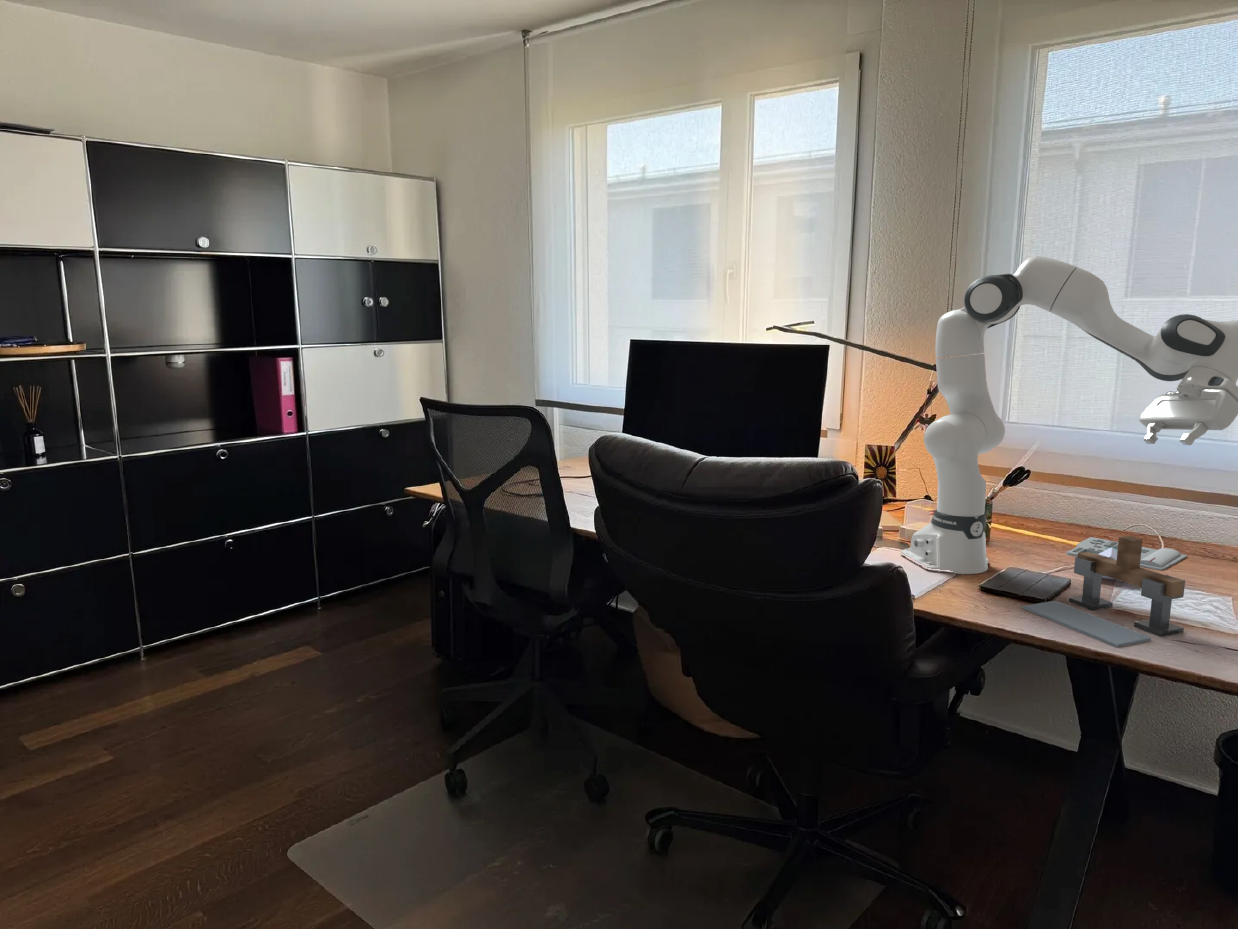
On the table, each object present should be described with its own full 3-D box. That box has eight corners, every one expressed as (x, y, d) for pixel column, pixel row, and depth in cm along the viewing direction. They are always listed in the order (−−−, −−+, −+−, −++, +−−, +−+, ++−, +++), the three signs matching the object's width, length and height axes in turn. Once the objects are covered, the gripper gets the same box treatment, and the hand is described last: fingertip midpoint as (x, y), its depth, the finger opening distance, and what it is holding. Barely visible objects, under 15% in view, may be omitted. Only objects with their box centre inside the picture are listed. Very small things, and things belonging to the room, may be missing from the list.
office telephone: (1188, 550, 218) (1162, 566, 205) (1186, 559, 219) (1161, 576, 206) (1091, 532, 235) (1062, 546, 222) (1090, 541, 236) (1061, 555, 223)
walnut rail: (1076, 566, 186) (1080, 526, 184) (1086, 564, 187) (1090, 525, 185) (1171, 597, 166) (1176, 553, 164) (1182, 595, 167) (1187, 551, 165)
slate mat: (1022, 608, 183) (1022, 606, 183) (1054, 603, 186) (1054, 600, 186) (1116, 647, 162) (1117, 644, 162) (1151, 640, 165) (1151, 637, 165)
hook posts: (1067, 602, 187) (1071, 556, 185) (1089, 598, 189) (1093, 552, 187) (1160, 637, 167) (1166, 586, 165) (1184, 632, 169) (1190, 582, 167)
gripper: (1153, 383, 187) (1118, 432, 186) (1235, 378, 167) (1196, 434, 166) (1172, 401, 188) (1137, 450, 187) (1256, 398, 168) (1217, 453, 167)
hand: (1165, 442), depth 176 cm, fingers open, 8 cm apart
